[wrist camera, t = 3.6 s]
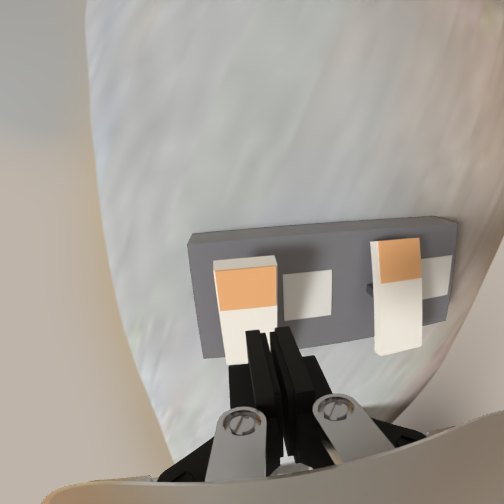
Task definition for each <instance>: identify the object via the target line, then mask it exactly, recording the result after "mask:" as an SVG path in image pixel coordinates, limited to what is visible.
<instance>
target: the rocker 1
mask: <svg viewBox="0 0 504 504" xmlns="http://www.w3.org/2000/svg"><path fill="white" fill-rule="evenodd" d="M213 272H214V280H215V287H216V295H217V302H218V309H219V316H220V323H221V330H222V337H223V344H224V350H225V357H226V363H227V365H229V364H240V363H248V355H247V345H246V335H245V331H249V330H260V333H266V337H267V340H268V344H269V348H270V332H274V330H275V328H276V327H277V262H276V259H275V256H274V255H271V256H260V257H249V258H237V259H226V260H215V261H213ZM270 352H271V351H270Z"/></svg>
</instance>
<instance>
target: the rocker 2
mask: <svg viewBox="0 0 504 504" xmlns="http://www.w3.org/2000/svg"><path fill="white" fill-rule="evenodd" d="M370 246H371V259H372V274H373V293H374V328H375V352H376V353H377V354H378V355H380V356H383V355H388V354H392V353H396V352H400V351H405V350H409V349H413V348H416V347H420V346H422V274H421V255H420V242H419V238H407V239H396V240H385V241H374V242H370Z"/></svg>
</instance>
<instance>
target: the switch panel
mask: <svg viewBox="0 0 504 504" xmlns="http://www.w3.org/2000/svg"><path fill="white" fill-rule="evenodd" d="M457 226H458V223H455V222H452V221H448V220H445V219H442V218H439V217H435V216H428V217H409V218H392V219H376V220H360V221H345V222H330V223H316V224H303V225H290V226H277V227H264V228H252V229H240V230H229V231H218V232H206V233H196V234H192V235H191V237H190V240H189V242H188V244H187V247H188V256H189V264H190V271H191V279H192V286H193V294H194V301H195V307H196V314H197V321H198V327H199V333H200V340H201V346H202V352H203V358H204V359H205V358H219V357H225V350H224V344H223V337H222V330H221V323H220V316H219V309H218V302H217V295H216V287H215V280H214V272H213V261H215V260H226V259H237V258H249V257H260V256H271V255H274V256H275V259H276V262H277V327H285V326H289V327H290V329H291V332H292V334H293V336H294V339H295V341H296V344H297V346H298V349H302V348H309V347H316V346H322V345H329V344H335V343H341V342H347V341H353V340H358V339H364V338H369V337H374V336H375V328H374V293H373V274H372V259H371V246H370V242H374V241H385V240H396V239H407V238H419V242H420V255H421V274H422V326H425V325H429V324H434V323H438V322H442V321H446V316H447V311H448V305H449V299H450V292H451V286H452V278H453V270H454V262H455V252H456V240H457Z"/></svg>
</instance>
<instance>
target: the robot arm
mask: <svg viewBox="0 0 504 504" xmlns="http://www.w3.org/2000/svg"><path fill="white" fill-rule="evenodd" d="M245 335H246V345H247V355H248V364H241V365H230V366H229V388H230V408H231V409H230V410H228V411H226V412H225V413H223V414H222V415H221V416H220V418H219V420H218V422H217V427H216V432H215V436H214V437H213V438H211V439H210V440H209V441H207V442H206V443H204V444H203V445H202V446H200V447H199V448H197V449H196V450H195V451H193V452H192V453H190V454H189V455H188V456H186V457H185V458H183V459H182V460H180V461H179V462H177V463H176V464H174V465H173V466H172V467H170V468H168V469H167V470H165V471H164V472H163V473H162V474H161V475H160V476H159V477H157V478H151V476H150V475H148V476H140V477H132V478H121V479H109V480H95V481H90V482H86V483H81V484H74V485H69V486H66V487H62V488H59V489H57V490H55V491H53V492H51V493H50V494H49V495H48V496H46V498H45V499H44V500H43V501H42V503H41V504H504V410H503V411H498V412H494V413H491V414H486V415H484V416H481V417H478V418H475V419H472V420H470V421H468V422H465V423H462V424H460V425H457V426H452V427H447V428H442V429H437V430H431V431H428V432H427V434H426V435H424V434H422V433H420V432H418V431H415V430H412V429H408V428H404V427H401V426H397V425H393V424H390V423H386V422H383V421H380V420H376V419H373V418H370V417H369V416H368V414H367V413H366V412H365V411H364V410H363V408H362V407H361V406H360V405H359V404H358V402H357V401H356V400H355V399H353V398H352V397H350V396H348V395H344V394H333V393H332V391H331V389H330V387H329V385H328V383H327V381H326V378H325V376H324V374H323V372H322V370H321V368H320V366H319V364H318V362H317V360H316V358H315V356H314V355H312V356H305V357H302V356H301V353H300V351H299V349H298V346H297V344H296V341H295V339H294V336H293V334H292V332H291V329H290V327H289V326H285V327H276V328H275V330H274V332H270V348H269V344H268V340H267V337H266V333H260V330H249V331H245ZM270 351H271V352H270ZM283 437H284V442H285V446H286V450H287V454H288V456H293V455H294V459H295V463H302V464H305V465H307V466H309V470H308V471H303V472H297V473H291V474H284V475H277V476H270V475H271V474H272V473H273V472H274V471H275V470H276V469H277V468H278V467H279V466H280V457H283Z"/></svg>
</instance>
